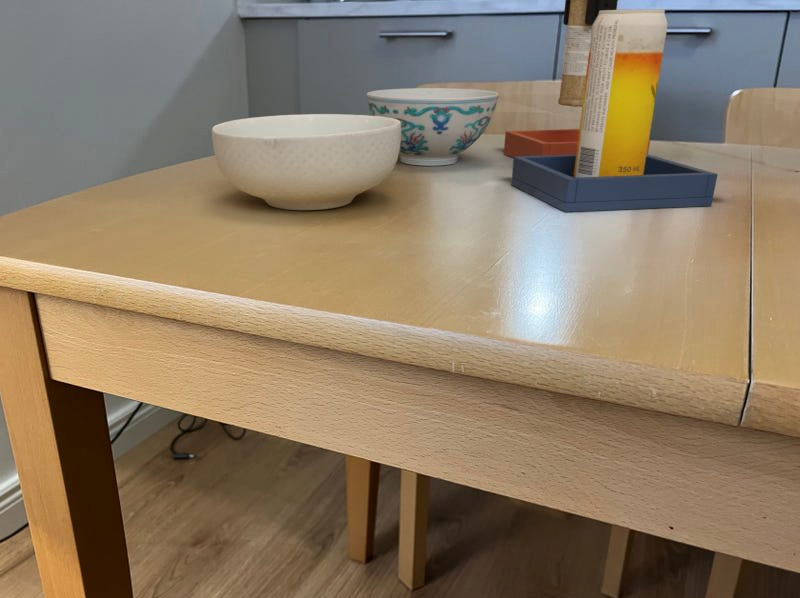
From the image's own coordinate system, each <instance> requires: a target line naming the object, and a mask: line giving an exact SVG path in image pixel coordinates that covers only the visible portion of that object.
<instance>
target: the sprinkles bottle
mask: <svg viewBox="0 0 800 598" xmlns="http://www.w3.org/2000/svg"><path fill="white" fill-rule="evenodd" d="M570 1H571V3H570V12H569V20H568V25H567V28H566V35H565V36H566V37H565V43H564V50H563V57H562V58H563V59H562V68H561V83H560V88H559V89H560V90H559V97H558V100H557V102H558V104H559V106H563V107H564V106H567V107H579V108H580V107H581V108H582V105H583V97H584V89H585V81H586V73H587V65H588V57H589V49H590V41H591V33H592V25H586V24H585V16H586V8H587V0H570Z"/></svg>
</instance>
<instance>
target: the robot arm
mask: <svg viewBox="0 0 800 598" xmlns="http://www.w3.org/2000/svg"><path fill="white" fill-rule="evenodd" d="M618 1H619V0H587V8H586V16H585V24H586V25H593V23H594V22H595V20H596V18H597V16H598V15H599V11H603V10H618V9H617V8H618V3H619V2H618ZM570 3H571V1H570V0H565V1H564V12H563V20H562V23H563V25H565V26H568V20H569V12H570Z"/></svg>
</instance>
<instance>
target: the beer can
mask: <svg viewBox="0 0 800 598" xmlns="http://www.w3.org/2000/svg"><path fill="white" fill-rule="evenodd" d="M665 12H666V9H655V8H654V9H617V10H603V11H599V15H598V16H597V18H596V20H595V22H594V23H593V25H592V33H591V41H590V49H589V57H588V65H587V73H586V81H585V89H584V97H583V105H582V107H581V113H580V114H581V116H580V123H579V128H578V129H579V137H578V145H577V153H576V161H575V169H574V177H601V176H629V175H643V173H644V167H645V161H646V155H647V149H648V142H649V140H650V136H651V130H652V123H653V118H654V117H653V116H654V111H655V104H656V99H657V92H658V86H659V80H660V74H661V68H662V63H663V56H664V51H665V43H666V38H667V37H666V36H667V31H668V25H669V24H668V20H667V18H666V14H665Z"/></svg>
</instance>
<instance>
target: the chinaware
mask: <svg viewBox="0 0 800 598" xmlns="http://www.w3.org/2000/svg"><path fill="white" fill-rule="evenodd" d="M366 100H367V105H368V110H369V114H370V116H380V117H387V118H393V119H396V120H399V121H400V123H401V144H400V149H399V154H400V159H399V161H400V162H401V163H403V164H406V165H412V166H421V167H424V166H425V167H439V166H449V165H450V166H451V165H454V164H456V163H457V162H458V158H459V157H458V156H459V154H461V153H463V152H464V151H466V150H468V149H469V148H470V147H471V146H472V145H474V143H476V142H477V141H478V139H479V138H480V137H481V136H482V135H483V133H484V132H485V131H486V129H487V128H488V126H489V124H490V122H491V120H492V118H493V115H494V112H495V110H496V106H497V103H498V100H499V93H498V92H497V91H492V90H485V89H474V88H447V87H445V88H444V87H443V88H441V87H421V88H419V87H418V88H415V87H414V88H413V87H412V88H390V89H389V88H388V89H380V90H372V91H368V92H367V93H366Z"/></svg>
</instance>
